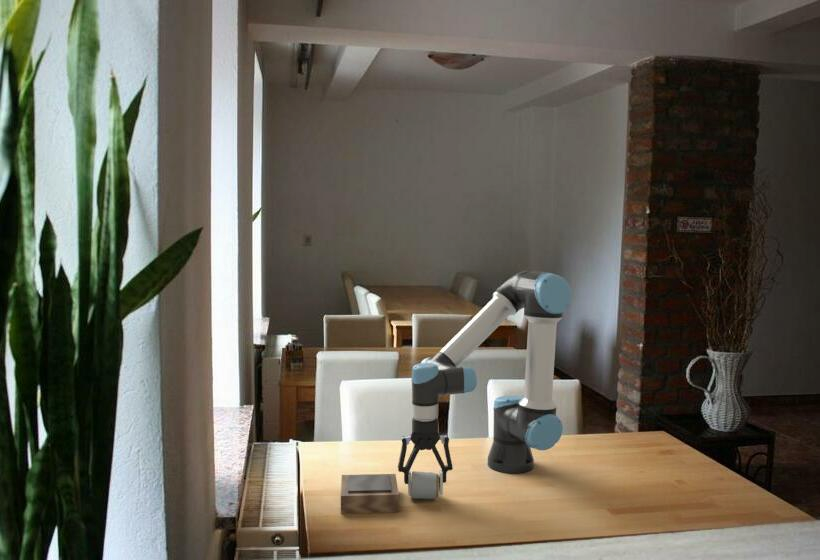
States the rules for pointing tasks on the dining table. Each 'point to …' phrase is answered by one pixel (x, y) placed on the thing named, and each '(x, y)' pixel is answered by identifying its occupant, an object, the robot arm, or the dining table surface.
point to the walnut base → (369, 493)
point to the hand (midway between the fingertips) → (425, 493)
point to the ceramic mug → (424, 485)
